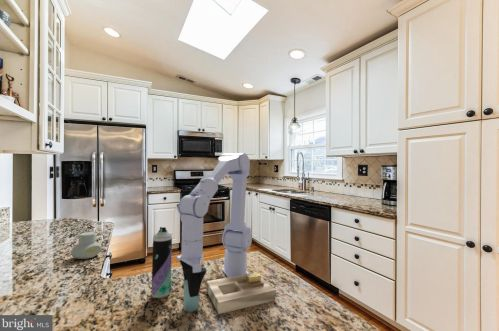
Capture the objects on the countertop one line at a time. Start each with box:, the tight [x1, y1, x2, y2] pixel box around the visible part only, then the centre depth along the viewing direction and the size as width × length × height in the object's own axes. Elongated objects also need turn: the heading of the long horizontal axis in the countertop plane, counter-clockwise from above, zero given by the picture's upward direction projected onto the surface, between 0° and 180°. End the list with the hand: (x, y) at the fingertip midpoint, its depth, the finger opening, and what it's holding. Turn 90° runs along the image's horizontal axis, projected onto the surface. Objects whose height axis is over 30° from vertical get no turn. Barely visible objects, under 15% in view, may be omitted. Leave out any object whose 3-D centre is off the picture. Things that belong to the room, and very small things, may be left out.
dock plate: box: [206, 271, 276, 315], centre depth 70 cm, size 13×17×4 cm
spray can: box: [151, 226, 173, 299], centre depth 71 cm, size 6×6×20 cm
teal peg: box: [183, 280, 200, 313], centre depth 64 cm, size 4×4×7 cm
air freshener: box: [70, 231, 103, 260], centre depth 100 cm, size 11×8×10 cm
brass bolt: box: [246, 272, 262, 285], centre depth 71 cm, size 2×4×2 cm, turn 114°
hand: (191, 289), depth 64 cm, fingers open, 7 cm apart
